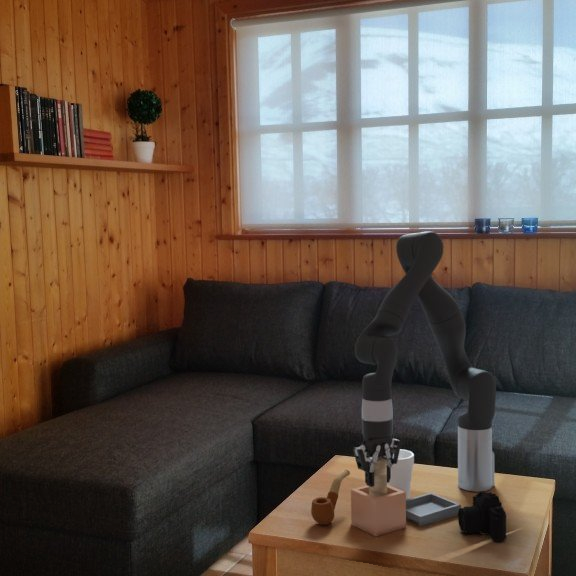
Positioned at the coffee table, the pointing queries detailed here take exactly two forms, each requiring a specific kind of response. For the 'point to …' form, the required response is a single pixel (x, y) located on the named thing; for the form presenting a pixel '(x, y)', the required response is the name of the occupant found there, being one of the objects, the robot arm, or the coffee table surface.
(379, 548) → the coffee table surface
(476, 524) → the film camera
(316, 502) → the smoking pipe
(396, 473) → the foam cup
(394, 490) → the deep box
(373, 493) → the maple dowel
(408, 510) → the tray
